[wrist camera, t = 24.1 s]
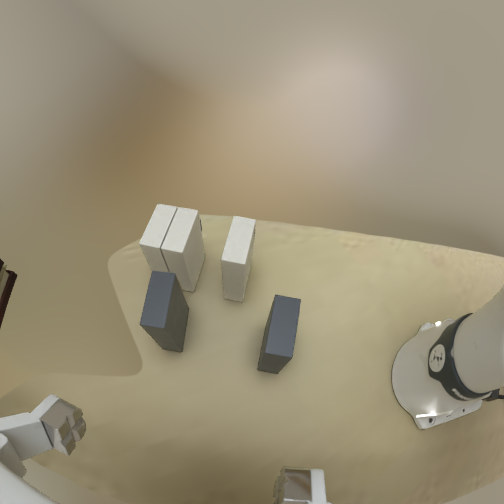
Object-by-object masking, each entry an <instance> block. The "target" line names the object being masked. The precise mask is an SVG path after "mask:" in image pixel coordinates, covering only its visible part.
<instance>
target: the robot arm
mask: <svg viewBox="0 0 504 504" xmlns="http://www.w3.org/2000/svg"><path fill="white" fill-rule="evenodd" d="M392 385H393V390H394V393H395V396H396V398H397V400H398V402H399V403H400V405H401V406H402V407H403V408H404V409H405V410H406V411H407V412H409V413H410V414H411V415H412V416H413V418H414V421H415V423H416V425H417V427H418V428H419V429H426V428H430V427H433V426H436V425H439V424H442V423H445V422H448V421H450V420H453V419H456V418H458V417H461V416H464V415H466V414H469V413H471V412H473V411H476V410H478V409H479V408H480V407H481V404H482V402H483V400H485V401H492V400H495V399H498V398H499V399H504V396H502V395H499V389H500V388H502V387H504V286H503V287H502V289H501V290H500V291H499V292H498V293H497V294H496V295H495V296H494V297H493V298H492V299H491V300H490V301H489V302H488V303H486V304H485V305H484V306H483V307H481V308H480V309H479V310H477V311H476V312H474V313H469V314H467V315H465V316H462V317H460V318H458V319H456V320H453V319H452V318H448V319H446V320H444V321H442V322H437V323H436V325H434V324H431V323H425V324H423V325H422V326H421V328H420V329H419V331H418V333H417V335H416V336H415V337H413V338H412V339H410V340H409V341H407V342H406V343H405V344H404V345H403V346H402V348H401V349H400V350H399V352H398V354H397V356H396V358H395V361H394V364H393V369H392ZM82 415H83V413H82V410H81V409H80V408H78V407H76V406H74V405H72V404H70V403H68V402H67V401H65V400H63V399H61V398H59V397H58V396H56V395H54V394H51V395H48V396H47V397H46V398H45V399H44V400H43V401H42V402H41V403H40V404H39V405H38V406H37V407H36V408H35V409H34V410H33V411H32V412H31V413H29V412H26V413H22V414H17V415H12V416H7V417H2V418H0V504H59V503H58V502H56V501H54V500H53V499H51V498H50V497H48V496H47V495H45V494H43V493H42V492H40V491H39V490H37V489H36V488H35V487H33V486H32V485H30V484H29V483H27V482H26V481H25V480H23V479H22V477H23V476H24V475H25V474H26V468H25V466H24V465H23V463H22V462H21V461H23V460H25V459H28V458H31V457H33V456H36V455H38V454H41V453H43V452H46V451H48V450H51V449H53V448H55V449H57V450H58V451H60V452H62V453H64V454H66V455H68V456H69V455H70V454H71V452H72V451H73V450H74V448H75V447H76V443H75V442H76V441H79V440H81V439H82V438H83V436H84V434H85V431H86V424H85V421H84V420H83V418H82ZM429 419H430V423H429ZM273 497H274V498H275V499H276V500H275V502H274V504H331V502H327V501H326V489H325V479H324V471H323V469H309V468H298V467H285V466H284V467H282V469H281V473H280V476H278V477H277V480H276V482H275V486H274V492H273Z"/></svg>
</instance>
